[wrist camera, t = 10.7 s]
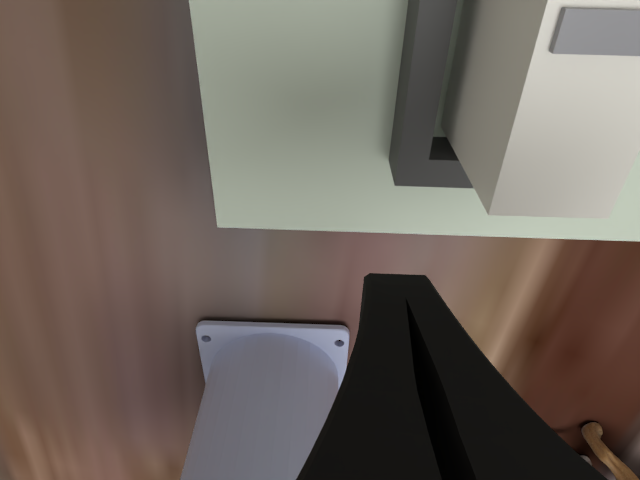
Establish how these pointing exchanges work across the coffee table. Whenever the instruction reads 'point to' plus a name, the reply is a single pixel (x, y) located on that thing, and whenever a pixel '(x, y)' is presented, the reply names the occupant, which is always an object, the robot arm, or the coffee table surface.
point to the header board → (349, 122)
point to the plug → (546, 104)
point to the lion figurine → (605, 452)
